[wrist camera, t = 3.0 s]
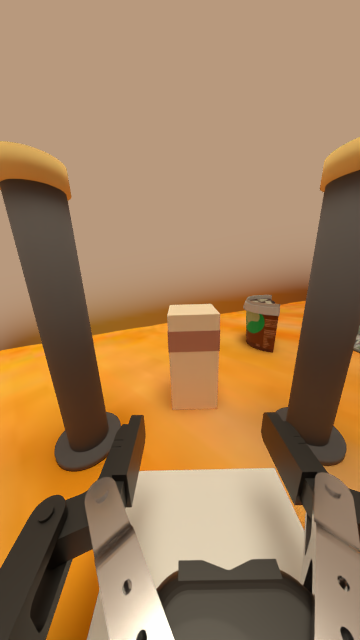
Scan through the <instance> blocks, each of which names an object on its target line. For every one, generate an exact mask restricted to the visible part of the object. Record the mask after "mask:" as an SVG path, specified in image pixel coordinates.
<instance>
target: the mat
mask: <svg viewBox="0 0 360 640" xmlns="http://www.w3.org/2000/svg"><path fill="white" fill-rule="evenodd" d="M125 510H126V513H127V516H128V519H129V521H130V524H131V525H132V526H133V528H134V531H135V533H136V536H137V539H138V541H139V544H140V547H141V550H142V552H143V555H144V558H145V561H146V563H147V566H148V569H149V572H150V574H151V577H152V580H153V583H154V585H155V588H156V589H157V588H158V586H159V585H160V584H161V583H162V582H163V581H164V580H165V579H166V578H167V577H168V576H169V575H171V574H172V573H173V572H175V571H177V570H178V560H204V561H206V562H209V563H211V564H214V565H216V566H219V567H221V568H224V569H227V570H231V569H233V568H235V567H237V566H239V565H241V564H243V563H245V562H247V561H249V560H251V559H276V561H277V564H278V567H279V570H282V571H284V572H286V573H287V574H289V575H291V576H292V577H293V578H295V579H296V580H298V581H299V582H300V577H301V570H302V563H303V549H304V532H305V531H304V529H303V527H302V525H301V523H300V521H299V519H298V517H297V515H296V512H295V510H294V508H293V506H292V504H291V502H290V500H289V498H288V496H287V493H286V491H285V489H284V487H283V485H282V483H281V481H280V479H279V477H278V475H277V472H276V470H275V468H255V469H211V470H167V471H139V474H138V479H137V484H136V489H135V494H134V499H133V504H132V507H126V509H125ZM87 640H109V636H108V631H107V626H106V620H105V615H104V609H103V604H102V599H101V593H100V589H99V593H98V597H97V601H96V605H95V609H94V613H93V617H92V621H91V625H90V629H89V633H88V637H87Z"/></svg>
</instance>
